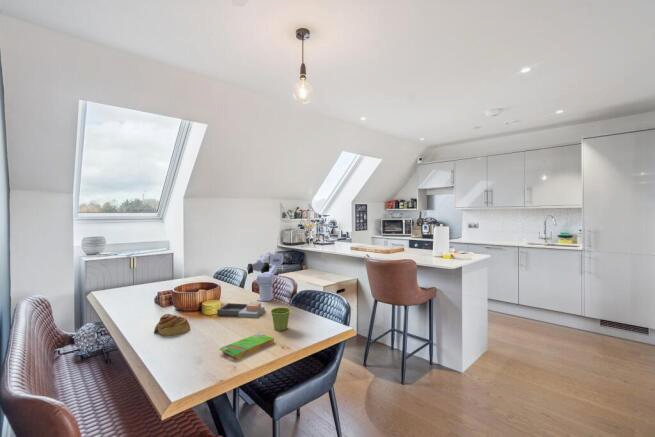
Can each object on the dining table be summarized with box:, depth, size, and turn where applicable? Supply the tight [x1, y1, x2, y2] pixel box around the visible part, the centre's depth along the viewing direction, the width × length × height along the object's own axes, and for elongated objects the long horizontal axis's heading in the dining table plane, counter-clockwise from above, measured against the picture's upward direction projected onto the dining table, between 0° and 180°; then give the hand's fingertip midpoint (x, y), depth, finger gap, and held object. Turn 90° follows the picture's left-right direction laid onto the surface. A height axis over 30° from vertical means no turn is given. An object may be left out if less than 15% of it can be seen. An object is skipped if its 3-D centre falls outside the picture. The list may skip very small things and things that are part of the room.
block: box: [246, 302, 262, 311], centre depth 172 cm, size 6×6×2 cm
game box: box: [218, 332, 275, 360], centre depth 128 cm, size 3×10×20 cm
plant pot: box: [270, 307, 292, 332], centre depth 149 cm, size 9×9×9 cm
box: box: [216, 302, 248, 318], centre depth 172 cm, size 12×12×3 cm
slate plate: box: [238, 306, 266, 318], centre depth 170 cm, size 12×10×2 cm
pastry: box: [153, 313, 191, 337], centre depth 146 cm, size 13×15×8 cm
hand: (255, 271), depth 176 cm, fingers open, 7 cm apart
